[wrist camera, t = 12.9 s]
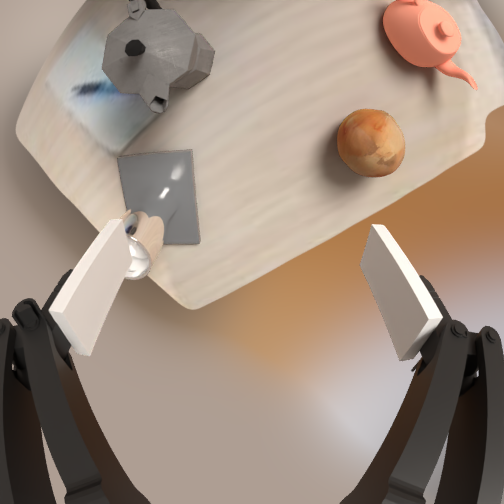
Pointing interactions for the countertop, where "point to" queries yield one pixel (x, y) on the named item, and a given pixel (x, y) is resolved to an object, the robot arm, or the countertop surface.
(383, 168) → the onion
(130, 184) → the slate board
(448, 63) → the teapot
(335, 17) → the countertop surface
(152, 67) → the coffeepot
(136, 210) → the beer glass
